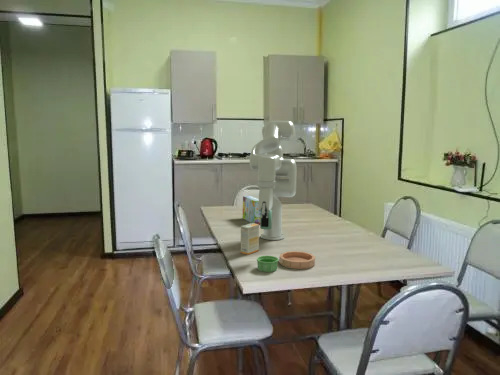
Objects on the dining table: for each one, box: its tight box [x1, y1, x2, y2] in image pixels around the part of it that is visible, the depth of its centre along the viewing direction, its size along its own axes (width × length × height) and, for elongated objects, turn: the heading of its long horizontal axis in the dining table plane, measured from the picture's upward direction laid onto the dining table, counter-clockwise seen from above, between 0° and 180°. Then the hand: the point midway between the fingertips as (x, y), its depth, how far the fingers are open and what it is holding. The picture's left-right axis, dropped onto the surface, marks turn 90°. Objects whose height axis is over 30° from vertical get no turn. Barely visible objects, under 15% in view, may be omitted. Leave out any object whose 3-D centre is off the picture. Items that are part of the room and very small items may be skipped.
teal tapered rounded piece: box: [259, 210, 272, 230], centre depth 179 cm, size 5×5×8 cm
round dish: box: [278, 250, 316, 270], centre depth 175 cm, size 15×15×3 cm
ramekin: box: [256, 255, 279, 273], centre depth 168 cm, size 9×9×4 cm
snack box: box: [242, 195, 262, 226], centre depth 255 cm, size 21×6×15 cm, turn 22°
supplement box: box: [240, 222, 260, 256], centre depth 190 cm, size 8×5×13 cm, turn 141°
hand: (266, 224), depth 180 cm, fingers closed on teal tapered rounded piece, 5 cm apart
